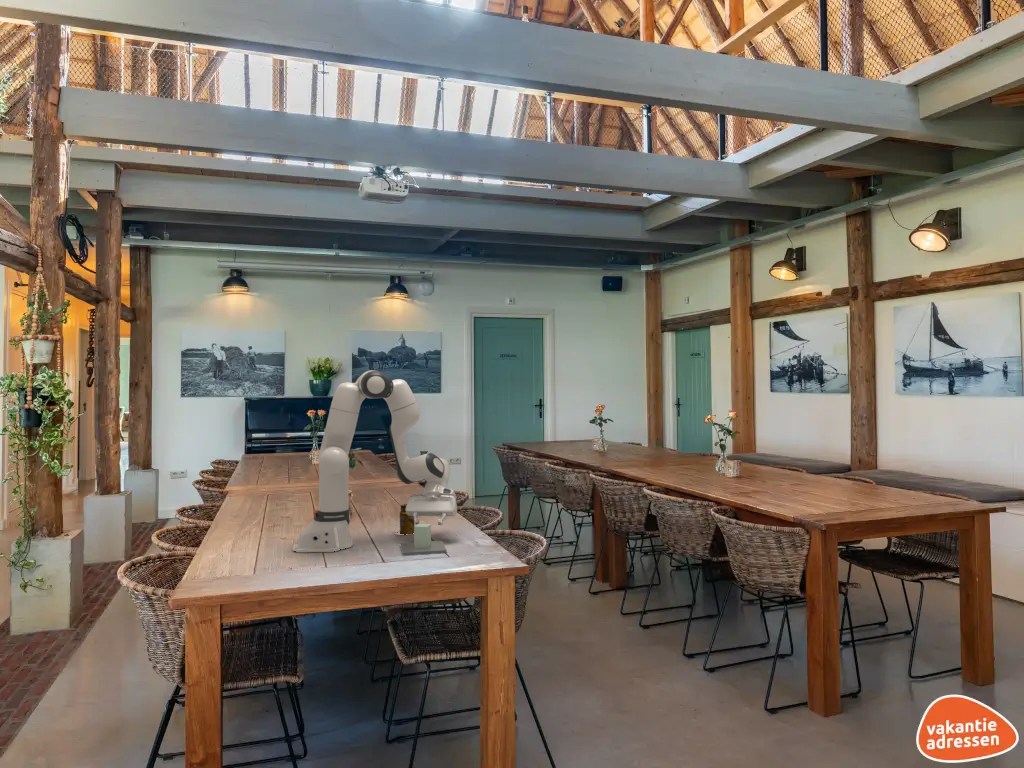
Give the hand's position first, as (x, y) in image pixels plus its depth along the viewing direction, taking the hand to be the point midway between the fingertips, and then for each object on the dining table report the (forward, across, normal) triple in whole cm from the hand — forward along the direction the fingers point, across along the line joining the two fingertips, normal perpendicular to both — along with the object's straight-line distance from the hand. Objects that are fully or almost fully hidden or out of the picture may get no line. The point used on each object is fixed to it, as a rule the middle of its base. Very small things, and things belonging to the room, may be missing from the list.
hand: (428, 524), depth 268 cm
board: (+11, 0, 0) cm, 11 cm away
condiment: (-7, -15, +18) cm, 25 cm away
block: (+10, 0, 0) cm, 10 cm away
